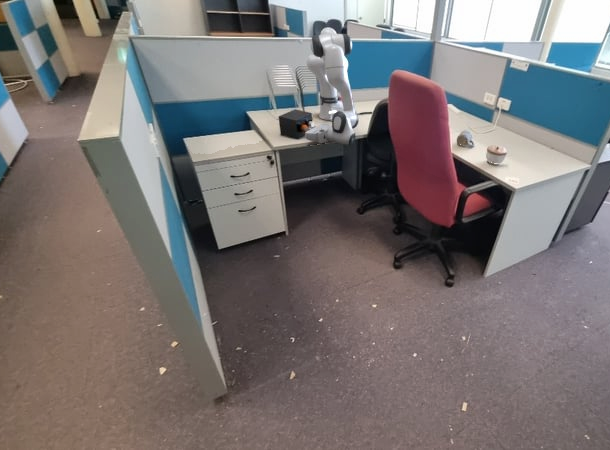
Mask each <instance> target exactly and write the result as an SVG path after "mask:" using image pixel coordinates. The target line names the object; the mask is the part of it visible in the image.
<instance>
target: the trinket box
mask: <svg viewBox="0 0 610 450" xmlns="http://www.w3.org/2000/svg"><path fill="white" fill-rule="evenodd" d="M507 154H508V150H507V149H506V148H505V147H502V146H499V145H489V146H487V148H486V154H485V157H486V161H487V163H488V164H490V165H493V166H498V165H499V164H501V163H503V162H504V160H505V159H506V156H507ZM489 161H490V162H492V163H490V162H489ZM494 163H499V164H494Z"/></svg>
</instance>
